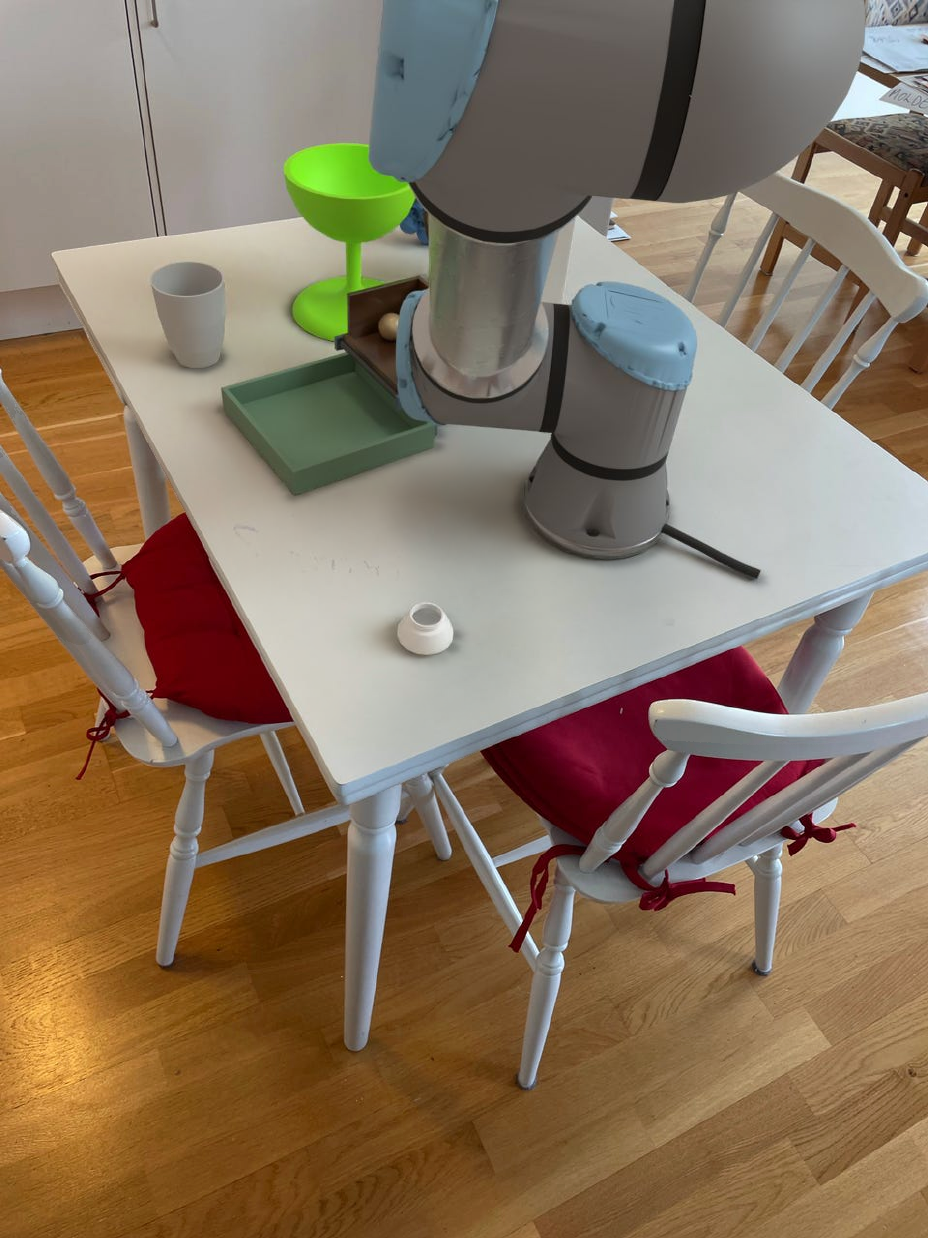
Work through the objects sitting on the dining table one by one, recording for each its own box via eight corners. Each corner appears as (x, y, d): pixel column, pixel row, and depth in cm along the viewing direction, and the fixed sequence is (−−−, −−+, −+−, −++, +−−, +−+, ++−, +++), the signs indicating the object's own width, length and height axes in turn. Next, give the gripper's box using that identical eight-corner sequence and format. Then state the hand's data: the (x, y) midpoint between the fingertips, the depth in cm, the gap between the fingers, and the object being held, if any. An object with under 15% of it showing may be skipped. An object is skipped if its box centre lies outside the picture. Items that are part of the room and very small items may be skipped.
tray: (434, 447, 106) (435, 424, 104) (294, 495, 99) (293, 472, 97) (356, 371, 115) (356, 348, 113) (223, 410, 108) (220, 387, 106)
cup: (215, 332, 119) (206, 255, 112) (244, 364, 115) (236, 286, 107) (152, 348, 115) (138, 270, 108) (180, 382, 111) (167, 302, 104)
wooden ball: (399, 349, 108) (414, 327, 108) (382, 338, 106) (398, 315, 105) (385, 337, 110) (400, 315, 109) (368, 325, 108) (384, 303, 107)
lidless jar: (450, 660, 85) (454, 619, 88) (452, 638, 83) (456, 597, 86) (394, 654, 85) (400, 614, 88) (395, 632, 83) (401, 591, 86)
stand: (471, 423, 110) (476, 373, 105) (396, 448, 106) (398, 398, 101) (408, 364, 117) (409, 315, 112) (335, 386, 113) (334, 336, 108)
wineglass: (266, 316, 122) (254, 173, 109) (338, 269, 132) (335, 132, 119) (371, 357, 118) (372, 212, 105) (437, 304, 128) (445, 166, 115)
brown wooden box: (474, 376, 107) (480, 323, 102) (395, 401, 102) (396, 347, 97) (417, 325, 113) (419, 274, 108) (339, 347, 108) (338, 294, 104)
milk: (557, 312, 129) (586, 141, 113) (557, 335, 125) (587, 161, 109) (512, 307, 129) (534, 135, 113) (510, 330, 125) (533, 155, 109)
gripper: (547, -47, 90) (518, 203, 107) (431, -37, 84) (420, 225, 102) (598, -25, 86) (559, 231, 103) (480, -13, 80) (460, 256, 98)
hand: (490, 228), depth 102 cm, fingers closed
